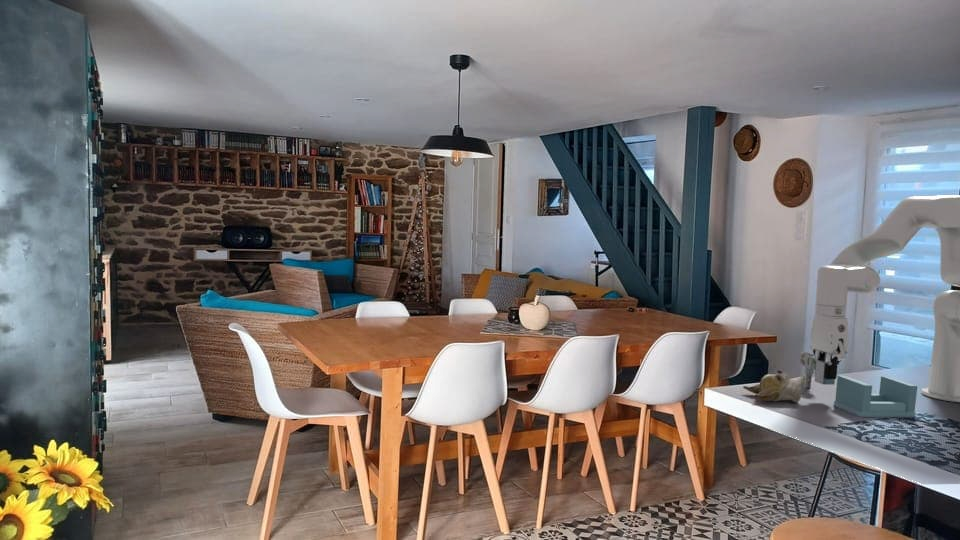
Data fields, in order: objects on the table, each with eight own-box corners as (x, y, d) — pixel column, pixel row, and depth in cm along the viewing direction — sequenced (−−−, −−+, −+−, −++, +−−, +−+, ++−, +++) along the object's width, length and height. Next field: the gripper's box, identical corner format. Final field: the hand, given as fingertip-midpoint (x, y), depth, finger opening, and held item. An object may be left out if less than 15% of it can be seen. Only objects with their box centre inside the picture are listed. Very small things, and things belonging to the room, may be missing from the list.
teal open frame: (885, 405, 185) (889, 376, 184) (914, 416, 175) (918, 386, 174) (833, 405, 182) (836, 375, 181) (860, 416, 172) (863, 385, 171)
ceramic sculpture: (813, 375, 178) (755, 374, 178) (812, 407, 178) (755, 406, 179) (797, 366, 188) (742, 366, 189) (796, 397, 189) (742, 396, 190)
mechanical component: (806, 383, 205) (809, 351, 205) (819, 392, 195) (823, 358, 194) (796, 383, 206) (799, 350, 205) (809, 391, 196) (812, 358, 195)
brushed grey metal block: (825, 381, 188) (827, 360, 187) (834, 384, 184) (836, 362, 184) (814, 381, 187) (816, 360, 186) (822, 384, 184) (824, 362, 183)
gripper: (864, 316, 176) (859, 384, 178) (822, 306, 192) (818, 369, 194) (838, 316, 175) (833, 385, 177) (798, 306, 191) (794, 369, 193)
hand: (825, 376), depth 185 cm, fingers closed on brushed grey metal block, 3 cm apart
